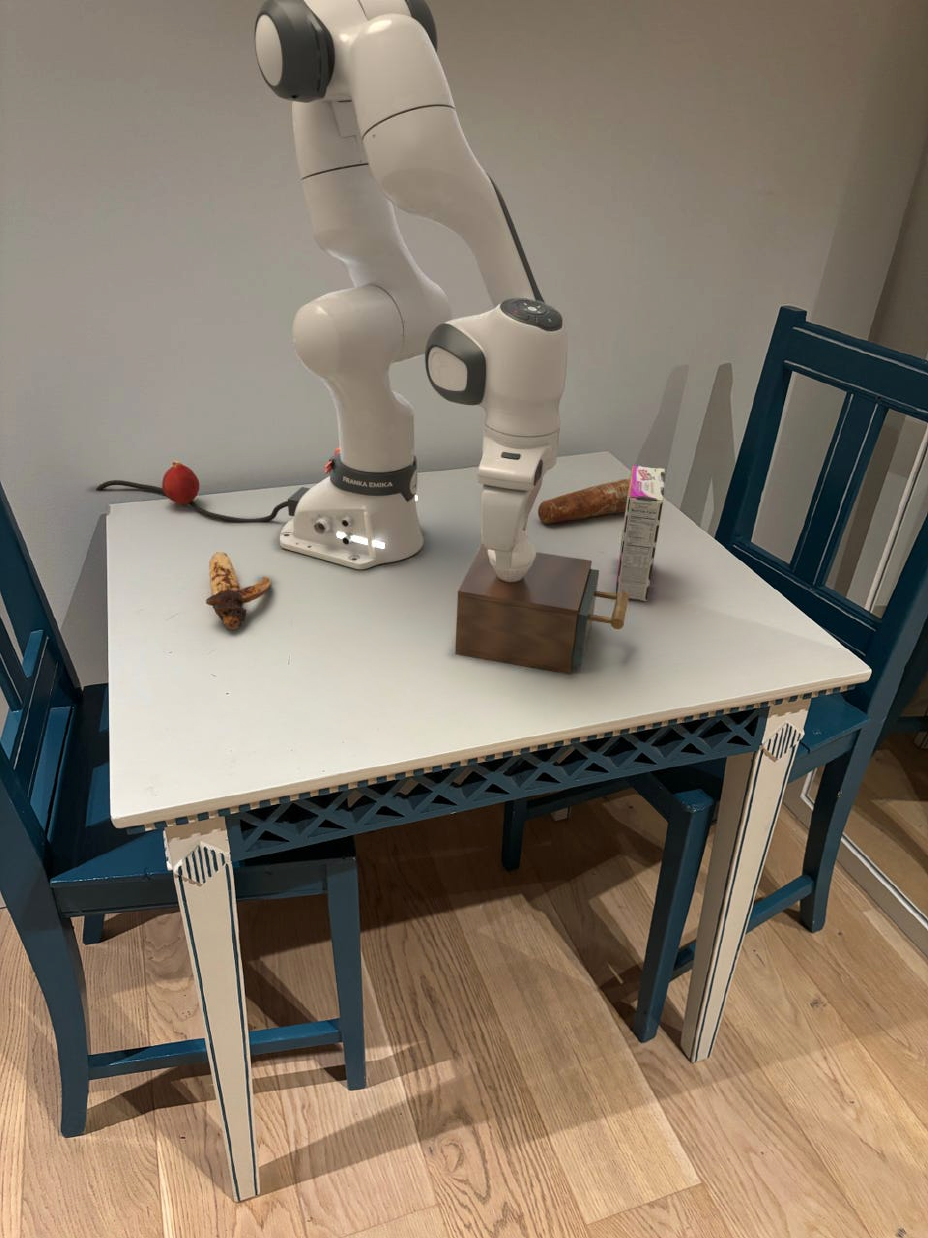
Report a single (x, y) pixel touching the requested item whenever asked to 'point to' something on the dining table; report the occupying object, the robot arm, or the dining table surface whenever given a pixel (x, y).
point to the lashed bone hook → (231, 591)
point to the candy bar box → (640, 531)
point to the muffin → (516, 560)
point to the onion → (180, 484)
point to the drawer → (587, 615)
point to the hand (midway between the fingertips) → (511, 549)
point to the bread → (586, 502)
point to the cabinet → (522, 612)
